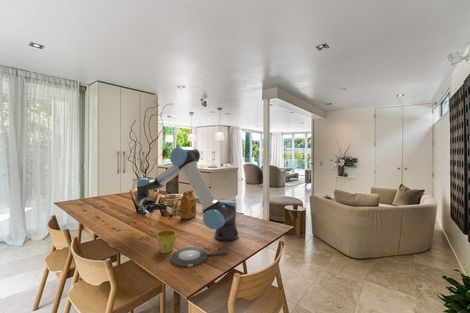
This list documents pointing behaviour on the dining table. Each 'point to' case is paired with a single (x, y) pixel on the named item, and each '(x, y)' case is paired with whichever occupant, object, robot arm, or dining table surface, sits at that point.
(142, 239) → the dining table surface
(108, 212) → the dining table surface
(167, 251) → the plant pot
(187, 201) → the coffee package
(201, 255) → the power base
